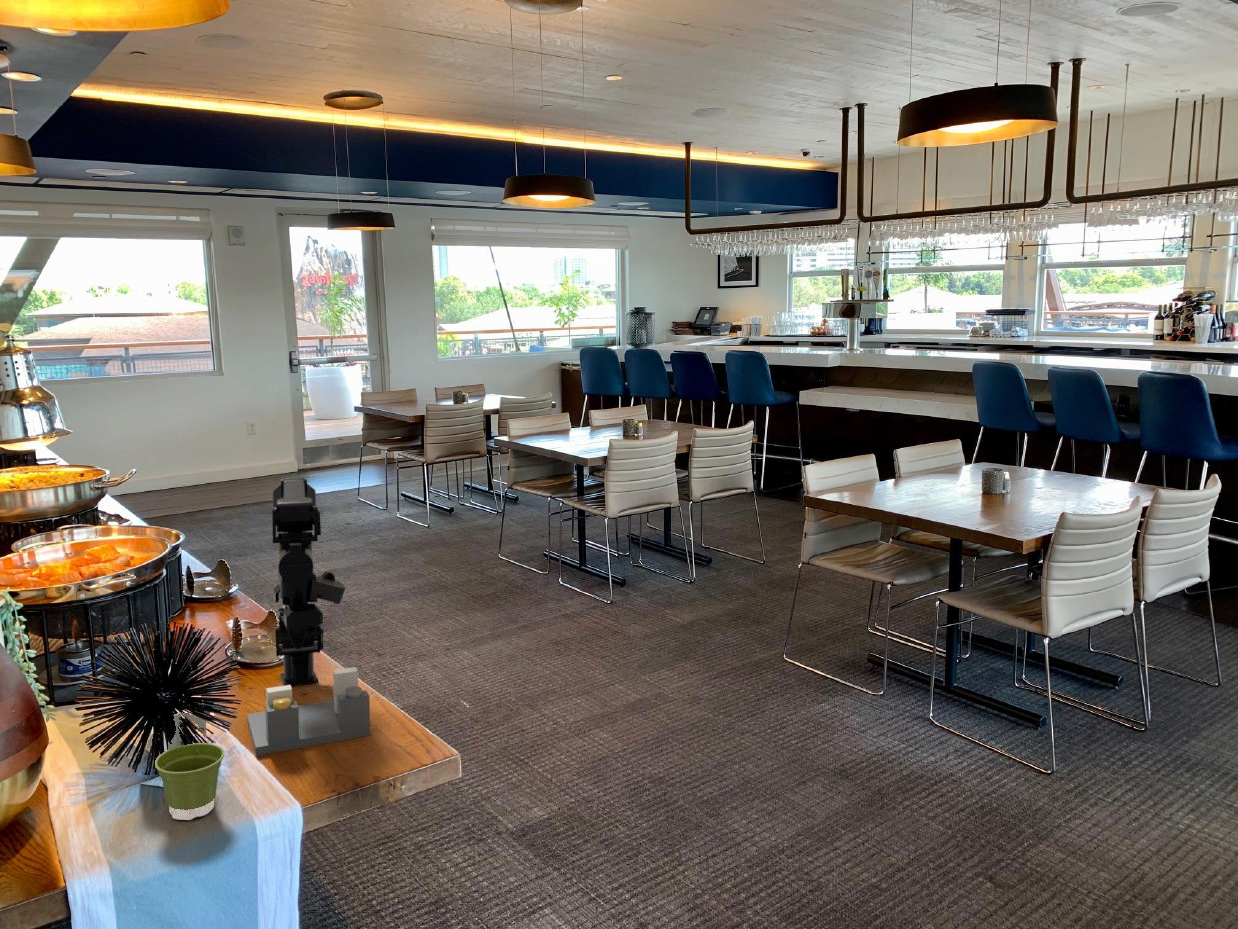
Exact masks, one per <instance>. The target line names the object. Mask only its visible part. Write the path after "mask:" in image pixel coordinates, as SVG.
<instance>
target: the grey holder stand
mask: <svg viewBox="0 0 1238 929" xmlns="http://www.w3.org/2000/svg"><path fill="white" fill-rule="evenodd" d="M370 714H371V711H370V694H369V692H368V691H367V690H365V689H364V690H362V687H360V686H358V687H349V688H347V689H346V690H345V694H339V695H338V714H336V712H335V710H334V699H332V700H328V701H325V700H324V701H320V702H314V703H308V704H301V705H298V703H297V701H292V702H291V700H290V699H289V698H278V699H276V700H274V701H273V705H270V706H267V705H266V706H265V711H258V712H252V713H246V723H248V724H247V727H248V731H249V734H250V738H251V742H252V745H253V750H254V752H255V756H256V757H257V756H262V755H263V756H264V755H268V754H274V753H279V752H284V751H285V752H286V751H290V750H295V749H302V748H307V747H312V746H318V745H323V744H327V743H334V742H340V741H344V740H350V739H351V740H352V739H355V738H361V737H367V736H370V735H371V727H370V726H371V717H370V716H371V715H370Z"/></svg>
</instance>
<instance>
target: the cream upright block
mask: <svg viewBox="0 0 1238 929" xmlns="http://www.w3.org/2000/svg"><path fill="white" fill-rule="evenodd" d="M332 674H333V680H332V681H333V700H334V710H335V712H336V714H338V695H339V694H345V690H346V689H347V688H349V687H359V671H358V669H357V667H355V666H354V667H349V668H348V667H347V668H341V669H334V670H333V672H332Z"/></svg>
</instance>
